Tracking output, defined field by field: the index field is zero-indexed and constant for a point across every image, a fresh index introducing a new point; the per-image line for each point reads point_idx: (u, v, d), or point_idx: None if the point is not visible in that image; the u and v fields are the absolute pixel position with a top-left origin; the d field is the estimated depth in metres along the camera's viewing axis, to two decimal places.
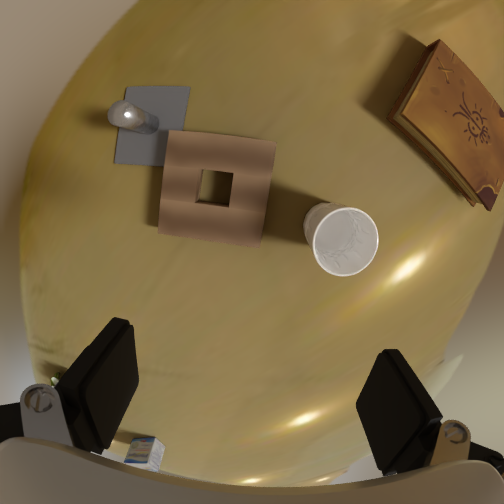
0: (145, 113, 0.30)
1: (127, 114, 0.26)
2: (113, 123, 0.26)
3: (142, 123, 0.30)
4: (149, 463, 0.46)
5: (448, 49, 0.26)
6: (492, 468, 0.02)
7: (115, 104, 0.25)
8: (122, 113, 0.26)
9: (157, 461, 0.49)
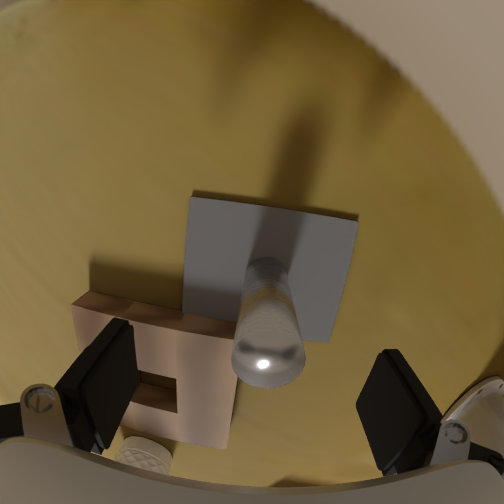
0: None
1: (259, 382, 0.11)
2: (239, 348, 0.11)
3: None
4: None
5: None
6: (492, 468, 0.02)
7: (296, 351, 0.11)
8: (264, 370, 0.11)
9: None
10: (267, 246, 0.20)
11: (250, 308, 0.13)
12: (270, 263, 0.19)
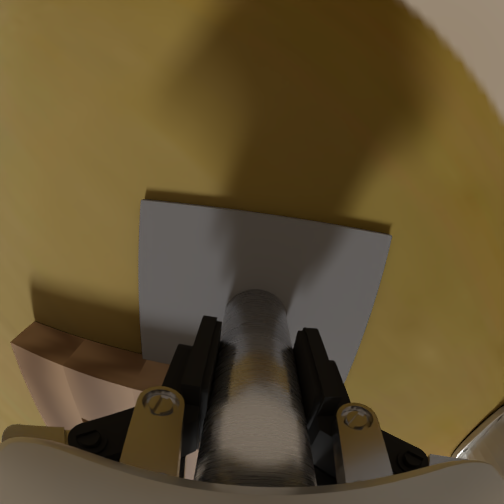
0: None
1: None
2: None
3: None
4: None
5: None
6: (492, 468, 0.02)
7: None
8: None
9: None
10: (257, 274, 0.13)
11: (222, 420, 0.06)
12: (261, 303, 0.12)
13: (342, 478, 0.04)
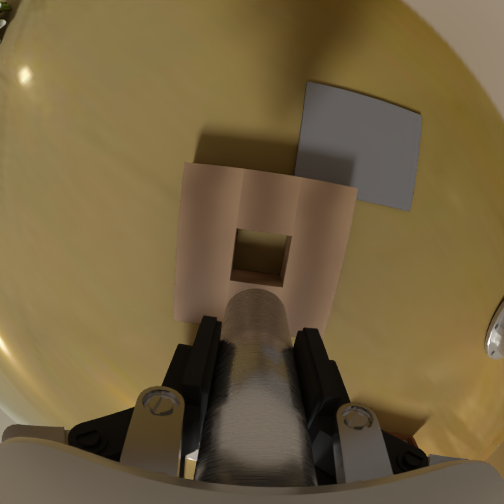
0: None
1: None
2: None
3: None
4: None
5: None
6: (492, 468, 0.02)
7: None
8: None
9: None
10: (364, 123, 0.22)
11: (222, 419, 0.06)
12: (261, 302, 0.12)
13: (342, 478, 0.04)
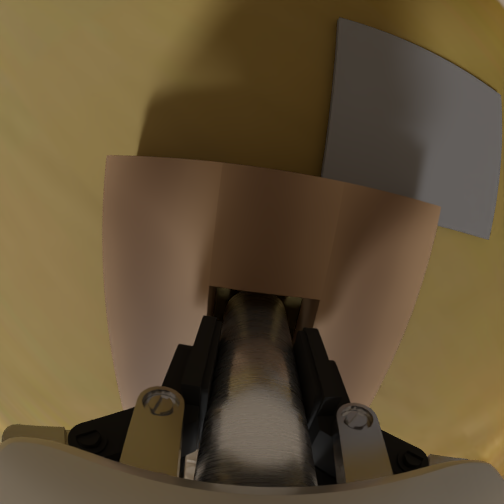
0: None
1: None
2: None
3: None
4: None
5: None
6: (492, 468, 0.02)
7: None
8: None
9: None
10: (434, 93, 0.11)
11: (222, 418, 0.06)
12: (261, 302, 0.12)
13: (342, 478, 0.04)
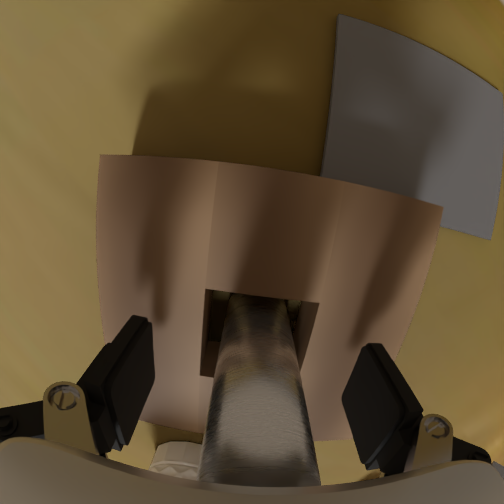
0: None
1: None
2: None
3: None
4: None
5: None
6: (492, 468, 0.02)
7: (307, 486, 0.04)
8: None
9: None
10: (435, 91, 0.10)
11: (227, 401, 0.07)
12: (263, 296, 0.12)
13: None
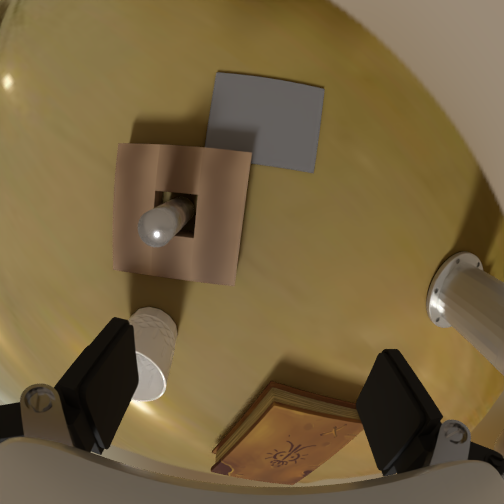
0: None
1: (152, 242, 0.21)
2: (140, 221, 0.21)
3: None
4: None
5: (359, 431, 0.37)
6: (492, 468, 0.02)
7: (167, 221, 0.21)
8: (153, 234, 0.21)
9: None
10: (266, 100, 0.27)
11: None
12: (180, 198, 0.29)
13: None
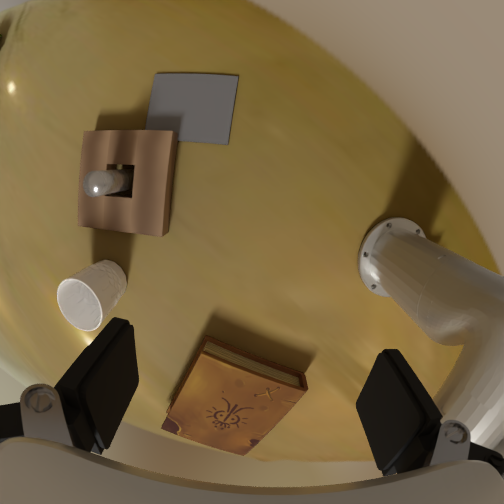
0: (116, 191, 0.32)
1: (91, 193, 0.28)
2: (85, 179, 0.27)
3: None
4: None
5: (296, 397, 0.41)
6: (492, 468, 0.02)
7: (100, 178, 0.27)
8: (92, 188, 0.28)
9: None
10: (190, 91, 0.33)
11: None
12: (125, 169, 0.35)
13: None
